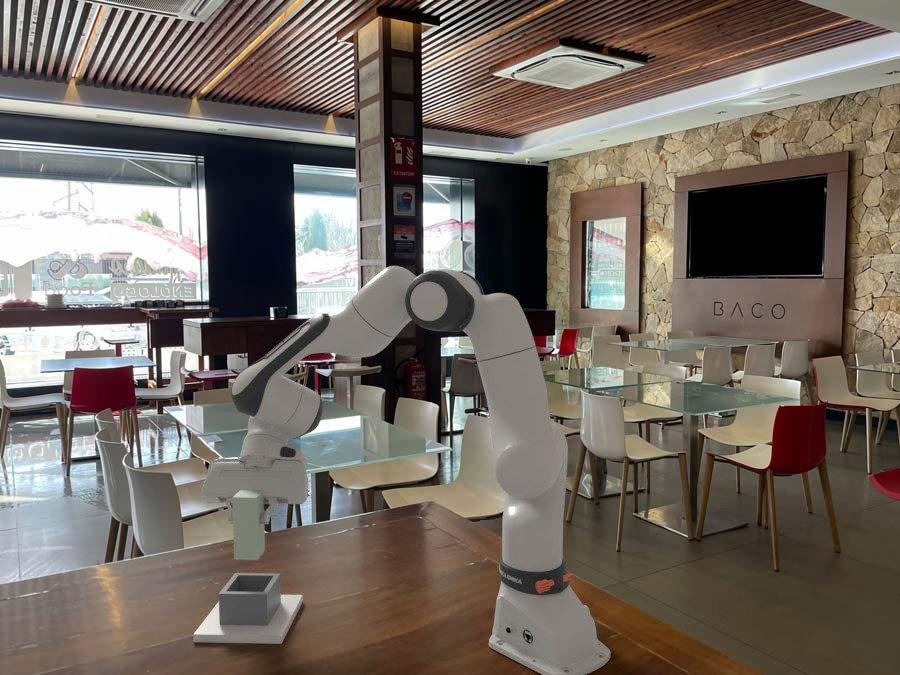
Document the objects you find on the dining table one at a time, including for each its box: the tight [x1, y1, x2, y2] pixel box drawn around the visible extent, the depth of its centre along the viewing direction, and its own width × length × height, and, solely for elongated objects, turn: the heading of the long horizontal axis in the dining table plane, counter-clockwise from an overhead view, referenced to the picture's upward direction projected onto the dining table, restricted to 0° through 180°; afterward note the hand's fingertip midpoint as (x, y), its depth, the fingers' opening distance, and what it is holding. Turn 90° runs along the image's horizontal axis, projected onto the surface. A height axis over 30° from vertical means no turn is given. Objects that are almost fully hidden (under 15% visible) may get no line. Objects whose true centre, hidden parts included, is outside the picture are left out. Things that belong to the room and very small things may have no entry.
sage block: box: [232, 490, 266, 561], centre depth 131 cm, size 4×4×12 cm
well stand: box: [192, 572, 304, 645], centre depth 132 cm, size 16×16×8 cm
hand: (248, 522), depth 130 cm, fingers closed on sage block, 4 cm apart
